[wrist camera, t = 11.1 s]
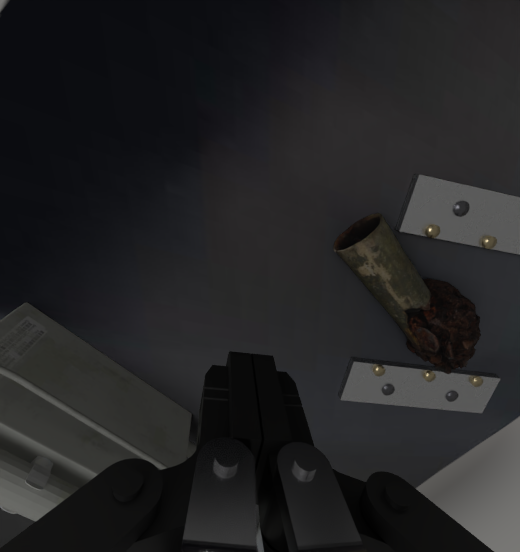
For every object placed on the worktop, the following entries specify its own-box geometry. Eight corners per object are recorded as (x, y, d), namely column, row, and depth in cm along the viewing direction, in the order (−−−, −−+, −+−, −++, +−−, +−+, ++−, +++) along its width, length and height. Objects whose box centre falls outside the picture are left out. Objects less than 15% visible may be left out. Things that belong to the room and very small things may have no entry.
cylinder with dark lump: (325, 243, 30) (347, 261, 25) (385, 195, 29) (421, 203, 24) (416, 360, 36) (449, 395, 31) (468, 323, 35) (512, 353, 30)
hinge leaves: (414, 173, 28) (421, 174, 27) (580, 211, 31) (593, 213, 30) (337, 394, 36) (341, 402, 35) (477, 408, 39) (484, 415, 38)
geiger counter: (-182, 468, 16) (191, 620, 25) (-118, 392, 15) (251, 577, 23) (-3, 329, 29) (203, 458, 38) (38, 282, 28) (242, 425, 36)
